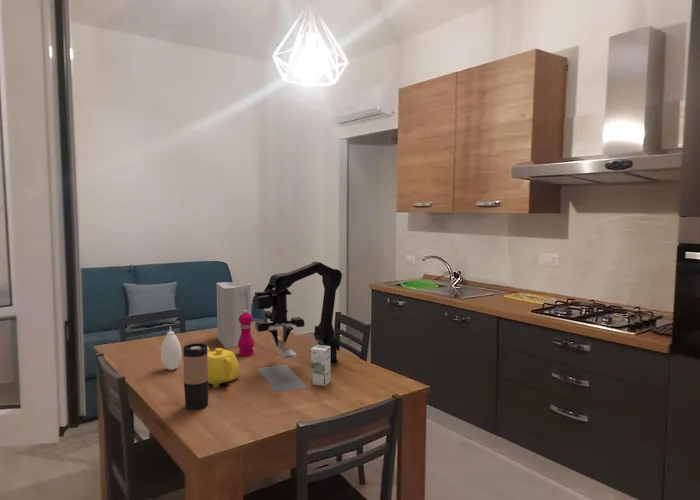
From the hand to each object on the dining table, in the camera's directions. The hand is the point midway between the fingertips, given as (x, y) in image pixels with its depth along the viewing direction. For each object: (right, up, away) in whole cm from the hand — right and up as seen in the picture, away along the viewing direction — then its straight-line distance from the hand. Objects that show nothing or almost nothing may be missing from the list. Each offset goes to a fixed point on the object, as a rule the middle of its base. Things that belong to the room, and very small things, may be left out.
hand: (280, 345), depth 196 cm
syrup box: (+17, -12, -14) cm, 25 cm away
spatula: (+1, -1, -2) cm, 2 cm away
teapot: (-22, -12, -10) cm, 27 cm away
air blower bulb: (-44, -11, +3) cm, 46 cm away
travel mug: (-23, -14, -33) cm, 42 cm away
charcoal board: (+2, -12, -9) cm, 15 cm away
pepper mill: (-19, -9, +24) cm, 32 cm away
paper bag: (-28, -7, +45) cm, 54 cm away
